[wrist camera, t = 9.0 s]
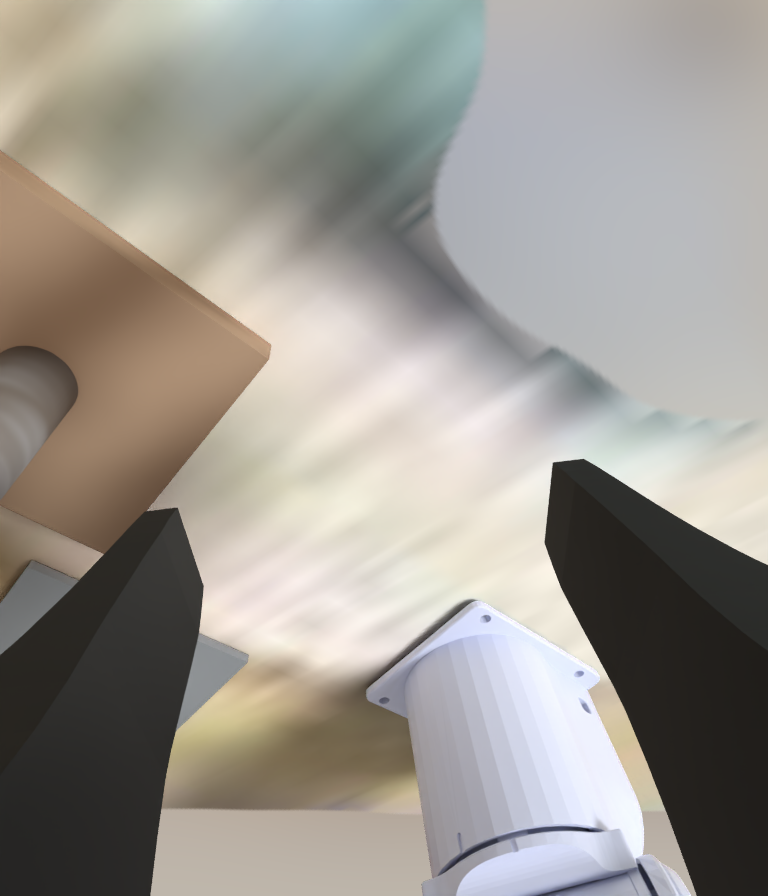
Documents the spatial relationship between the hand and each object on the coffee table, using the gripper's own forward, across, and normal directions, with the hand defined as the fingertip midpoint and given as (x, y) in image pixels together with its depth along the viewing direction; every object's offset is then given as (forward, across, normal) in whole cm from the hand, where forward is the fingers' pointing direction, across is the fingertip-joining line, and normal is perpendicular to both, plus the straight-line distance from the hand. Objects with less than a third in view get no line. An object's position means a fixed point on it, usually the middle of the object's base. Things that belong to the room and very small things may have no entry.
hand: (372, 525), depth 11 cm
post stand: (+10, +10, 0) cm, 13 cm away
